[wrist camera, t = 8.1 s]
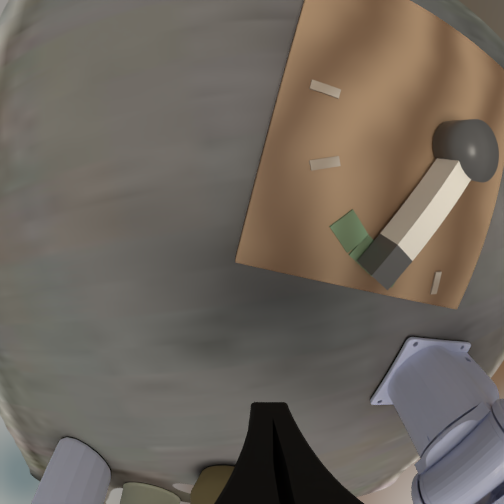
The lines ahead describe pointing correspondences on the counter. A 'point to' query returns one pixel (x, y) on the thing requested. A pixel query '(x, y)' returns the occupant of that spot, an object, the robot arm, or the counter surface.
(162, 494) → the can
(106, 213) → the counter surface
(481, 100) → the board
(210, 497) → the squeeze bottle
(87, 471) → the soap bottle
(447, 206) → the peg
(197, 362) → the counter surface
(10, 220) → the counter surface
